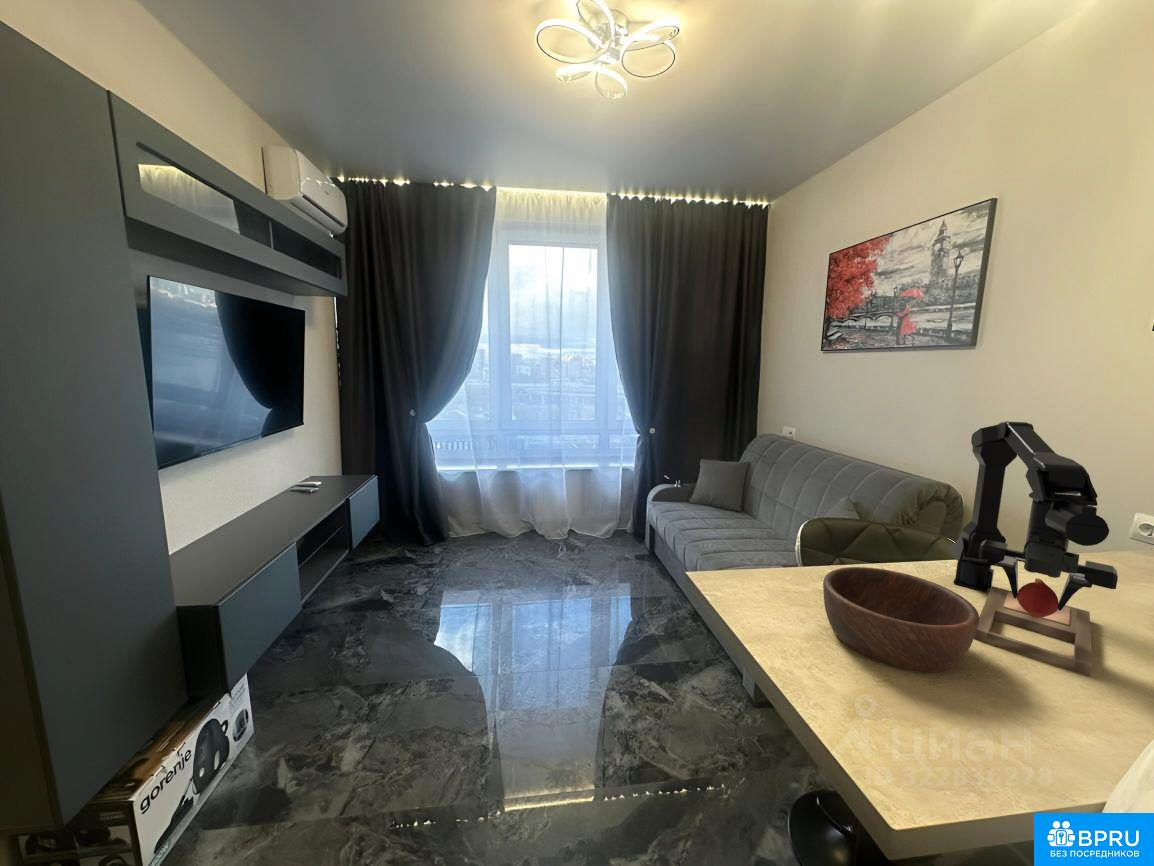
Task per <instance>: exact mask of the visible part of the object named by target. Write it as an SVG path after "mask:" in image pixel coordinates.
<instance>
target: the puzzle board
mask: <svg viewBox="0 0 1154 866" xmlns="http://www.w3.org/2000/svg"><path fill="white" fill-rule="evenodd" d="M995 620H996V621H999V622H1002V623H1006V624H1010V625H1011V626H1015V627H1019V628H1023V629H1026V630H1029V631H1033V632H1035V633H1040V634H1042V635H1046V636H1050V637H1053V638H1056V639H1058V640H1063V641H1066V642H1070V643H1072V644H1074V645H1073V657H1071V656H1068V655H1065V654H1062V653H1059V652H1055V651H1053V650H1049V649H1046V648H1042V647H1040V646H1037V645H1033V644H1029V643H1028V642H1024V641H1020V640H1017V639H1014V638H1011V637H1008V636H1005V635H1002V634H999V633H995V632H993V631H991V629H992V626H993V624H994V621H995ZM973 640H978V641H979V642H980V641H981V642H984V643H988V644H990V645H993V646H995V647H999V648H1002V649H1005V650H1009V651H1011V652H1013V653H1017V654H1020V655H1024V656H1026V657H1029V658H1033V659H1036V660H1039V661H1042V662H1044V663H1047V664H1050V665H1053V666H1056V667H1060V668H1063V669H1066V670H1068V671H1072V672H1075V673H1077V674H1080V675H1082V676H1083V675H1084V676H1086V677H1091V674H1092V668H1093V660H1092V659H1093V657H1092V654H1093V653H1092V636H1091V611H1089V610H1085V609H1081V608H1077V607H1073V606H1069V605H1065V606H1064V607H1063V608H1062V610H1061V611H1060V610H1058V609H1057V611H1056V612H1055V613H1054V614H1052V615H1049V616H1046V617H1040V618H1034V617H1031V616H1030V615H1029V613H1028V612H1027V611H1025V610H1024V609H1023V608H1022V607H1021V605H1020V604H1019V602H1018V600H1017V598H1016V599H1015V598H1014V597H1013V594H1012V590H1008V589H1005V588H1002V587H998V586H993V585H992V586H991V588H990V590H989V592H988V595H987V598H986V599H985V603H984V604H983V606H982V609H981V612H980V615H979V625H978V628H977V631H976V634H975V637H974V639H973Z"/></svg>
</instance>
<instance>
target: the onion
mask: <svg viewBox="0 0 1154 866" xmlns="http://www.w3.org/2000/svg"><path fill="white" fill-rule="evenodd" d="M1017 600H1018V602H1019V604H1020V605H1021V607H1022V608H1023V609H1024V610H1025V611H1027V612H1028V613H1029V615H1030V616H1031V617H1034V618H1040V617H1046V616H1049V615H1052V614H1054V613H1055V612H1056V611H1057V609H1058V606H1059V598H1058V595H1057V594H1056V592H1055V591H1054V590H1053V589H1052V588H1051V587H1050V586H1048V585H1047V584H1046V583H1045V582H1044V581H1043V579H1041V578H1035V579H1034V581H1033V582H1028V583H1026V584H1025V585H1023V586H1021V587H1020V588H1018V593H1017Z"/></svg>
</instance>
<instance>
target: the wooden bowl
mask: <svg viewBox="0 0 1154 866" xmlns="http://www.w3.org/2000/svg"><path fill="white" fill-rule="evenodd" d="M822 583H823V584H822V587H823V588H822V589H823V602H824V609H825V614H826V617H827V620H828V622H829V625H830V626H831V629H832V630H833V632H834V633H835V635H836V636H837V637H838V638H839V639H840V641H842V642H843V643H844V644H845V645H847V647H849V648H850V649H851V650H853V651H855V652H856V653H858V654H859V655H862V656H864V657H866V658H868V659H870V660H872V661H875V662H877V663H879V664H883V665H885V666H889V667H891V668H896V669H899V670H904V671H908V672H909V671H910V672H915V673H916V672H917V673H937V672H943V671H946V670H949V669H952V668H953V667H954V666H956V665H957V664H958V663H959V662H960V661H961V660H962V659H963V658H965V656H966V654H968V652H969V650H970V648H971V646H972V643H973V642H974V640H975V639H974V637H975V634H976V631H977V628H978V625H979V616H980V615H979V612H978V610H977V608H975V606H974V605H973V604H972V603H971V602H970V601H968V600H967V599H966V598H964V597H963V596H962V595H960V594H959V593H957V592H955V591H953V590H951V589H949V588H947V587H946V586H945V587H944V586H942V585H940V584H938V583H936V582H933V581H930V580H927V579H924V578H921V577H918V576H914V575H912V574H908V573H904V572H900V571H895V570H890V569H883V568H876V567H865V566H851V567H841V568H837V569H833V570H832V571H829V572H827V573H826V574H825V576H824V578H823V582H822Z"/></svg>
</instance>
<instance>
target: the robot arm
mask: <svg viewBox="0 0 1154 866" xmlns="http://www.w3.org/2000/svg"><path fill="white" fill-rule="evenodd" d="M970 442H971V446H972V454H973V455H974V457H975V458H976V460H977V462H978V472H977V478H976V487H975V494H974V499H973V500H974V501H973V506H972V507H973V508H972V515H971V520H970V521H969V523H967V524H966V525H965V526H964V527H963V528H962V529H961V532H960V536H959V537H958V539H957V540H956V541H955V542H954V543H953V544H952V545H951V547H950V555H951V557H953V559H955V560H956V562H957V564H956V568H955V569H956V570H955V577H954V580H953V581H952V583H953V584H954V585H959V586H962V587H965V588H969V589H973V590H977V591H981V592H985V593H987V592H988V591H989V589H991V587H992V586H993V580H994V574H995V570H994V568H993V569H992V566H993V567H994V566H995V567H998V568H1002V569H1003V570H1004V572H1005V575H1006V577H1007V579H1008V582H1009V585H1010V589H1011V590H1010V591H1012V594H1013V597H1014V598H1015V599H1016V598H1017V593H1018V590H1019V562H1021V563H1024V564H1023V570H1025V571H1026V572H1028V573H1032V574H1035V573H1036V574H1040V575H1043V576H1048V577H1050V578H1054V579H1055V578H1056V579H1057V578H1060V577H1061V574H1062V572H1063V573H1067V574H1068V575H1067V579H1066V580H1065V584H1064V585H1063V589H1062V592H1061V594H1060V597H1059V599H1058V602H1059V606H1058V610H1060V611H1061V610H1062V608H1063V607H1064V606H1065V605H1066V604H1068V602H1069V601H1070V599H1072V597H1073V595H1075V594H1076V593H1077V592H1078V591H1079V590H1081V589H1082V588H1087V589H1091V588H1093V586H1096V587H1101V588H1105V589H1109V590H1116V589H1117V586H1118V585H1117V584H1118V580H1119V579H1118V577H1119V576H1118V571H1117V569H1116V568H1115V567H1114V566H1113V565H1109V564H1104V563H1101V562H1095V561H1090V560H1085V562H1084V563H1085V564H1084V565H1083V564H1079V561H1080V554H1079V553H1074V552H1069V551H1068V550H1069V544H1070V541H1071V542H1072V543H1075V544H1076V545H1079V546H1083V547H1084V546H1085V547H1089V546H1090V547H1091V546H1096V545H1098V544H1100V543H1103V542H1104V541H1105V540H1106V539H1107V538H1108V536H1109V535H1110V534H1109V533H1110V528H1109V525H1108V523H1107V522H1106V520H1105V519H1104V518H1103V517H1101V516H1100V515H1097V512H1098V508H1097V506H1098V500H1097V498H1098V497H1099V496H1098V493H1097V492H1096V490H1095V487H1094V484H1093V483H1092V480H1091V478H1090V477H1091V476H1090V475H1089V472H1088V471H1087V470H1086V468H1085V467H1084V466H1083V465H1081V464H1080V463H1078V462H1077V461H1075V460H1074V459H1072V458H1068V457H1066V456H1062V455H1060V454H1058V453H1056V452H1055V450H1053V449H1052V448H1051V447H1050V446H1049V445H1048V443H1047V442H1046V441H1045V440H1043V438H1042V437H1041V436H1040V435H1039V434H1038V433H1037V432H1036V431H1035V430H1034V426H1033V424H1032V423H1028V422H1025V421H1008V420H1007V421H1003V422H1000V423H998V424H995V425H990V426H985V427H980V428H978V430H975V432H973V433H972V435H971V441H970ZM1017 457H1019V459H1020V460H1021V461H1022V462H1023V463H1024V465H1026V468H1027V471H1026V473H1025V479H1026V480H1027V483H1028V485H1029V487H1030V489H1031V491H1032V492H1030V493H1029V494H1028V497H1029V498H1030V499H1032V501H1031V508H1030V515H1029V520H1028V527H1027V533H1026V538H1025V539H1026V540H1025V544H1024V545H1023V550H1022V551H1018V550H1014V549H1009V544H1008V543H1006V541H1007V539H1006V537H1005V536H1004V535H1003V534H1002V533H1001V531H1000V529H999V527H998V524H999V517H1000V516H999V515H1000V509H1001V501H1002V497H1003V496H1002V495H1003V488H1004V481H1005V475H1006V468H1007V467H1008V466H1009V465H1010V464H1011V463H1012V462H1013V461H1014V460H1015V459H1016V458H1017ZM1066 606H1067V605H1066Z"/></svg>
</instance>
